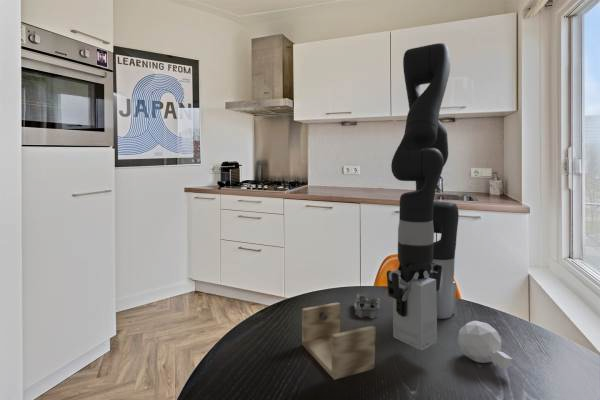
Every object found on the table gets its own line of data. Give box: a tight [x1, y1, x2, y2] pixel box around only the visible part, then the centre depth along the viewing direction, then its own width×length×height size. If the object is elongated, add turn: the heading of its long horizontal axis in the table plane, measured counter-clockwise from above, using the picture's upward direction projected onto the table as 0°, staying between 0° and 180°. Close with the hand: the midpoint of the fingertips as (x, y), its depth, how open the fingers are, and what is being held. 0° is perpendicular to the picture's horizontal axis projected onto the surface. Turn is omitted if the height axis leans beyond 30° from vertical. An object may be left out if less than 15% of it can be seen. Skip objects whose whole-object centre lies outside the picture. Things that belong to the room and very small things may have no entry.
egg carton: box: [354, 292, 381, 319], centre depth 111 cm, size 10×7×4 cm
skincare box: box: [392, 277, 438, 351], centre depth 83 cm, size 8×6×15 cm
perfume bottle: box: [457, 320, 513, 369], centre depth 82 cm, size 9×9×12 cm
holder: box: [301, 302, 376, 381], centre depth 85 cm, size 10×16×9 cm, turn 24°
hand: (413, 312), depth 83 cm, fingers closed on skincare box, 6 cm apart
